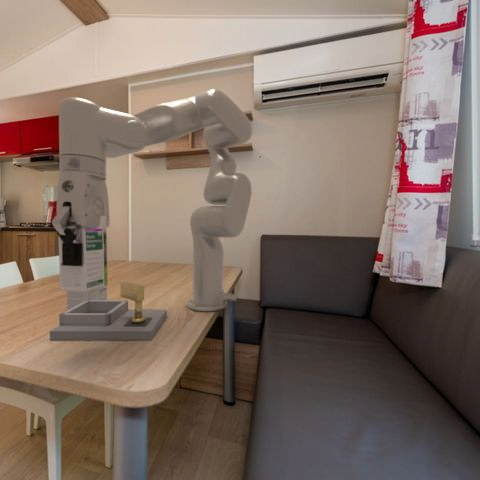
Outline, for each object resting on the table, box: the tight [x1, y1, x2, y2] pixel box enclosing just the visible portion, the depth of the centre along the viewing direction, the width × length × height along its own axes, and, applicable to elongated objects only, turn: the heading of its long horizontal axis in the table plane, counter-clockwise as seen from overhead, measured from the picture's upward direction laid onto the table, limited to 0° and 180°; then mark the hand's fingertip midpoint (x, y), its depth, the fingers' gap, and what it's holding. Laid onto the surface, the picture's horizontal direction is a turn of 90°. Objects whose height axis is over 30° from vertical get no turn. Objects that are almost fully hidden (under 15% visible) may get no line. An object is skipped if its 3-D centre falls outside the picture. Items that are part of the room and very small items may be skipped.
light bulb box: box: [66, 284, 108, 311], centre depth 74 cm, size 11×7×11 cm, turn 4°
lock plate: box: [49, 299, 168, 341], centre depth 60 cm, size 22×14×4 cm, turn 93°
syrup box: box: [58, 216, 108, 292], centre depth 48 cm, size 6×6×14 cm
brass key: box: [120, 281, 146, 323], centre depth 60 cm, size 3×8×8 cm, turn 57°
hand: (84, 261), depth 48 cm, fingers closed on syrup box, 6 cm apart
